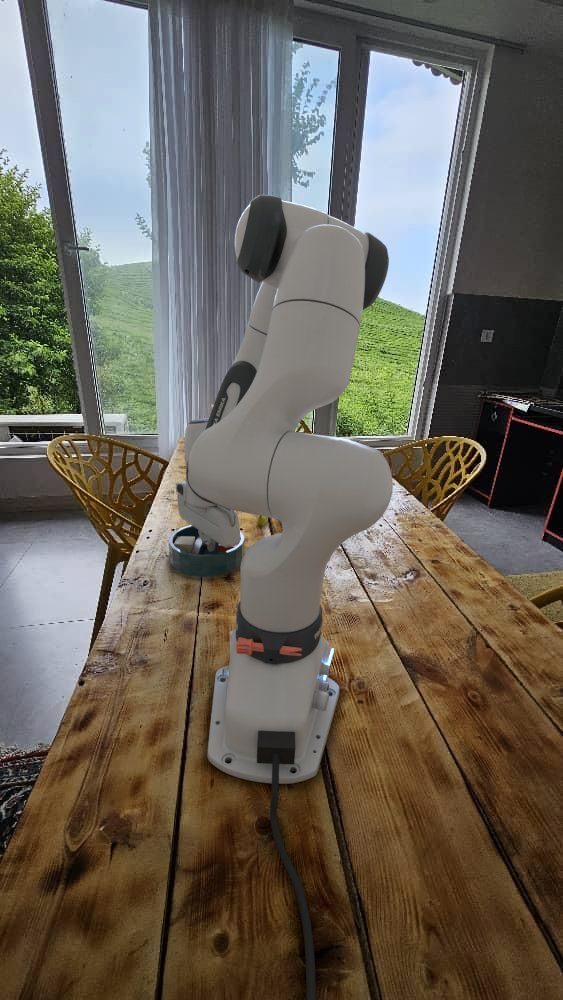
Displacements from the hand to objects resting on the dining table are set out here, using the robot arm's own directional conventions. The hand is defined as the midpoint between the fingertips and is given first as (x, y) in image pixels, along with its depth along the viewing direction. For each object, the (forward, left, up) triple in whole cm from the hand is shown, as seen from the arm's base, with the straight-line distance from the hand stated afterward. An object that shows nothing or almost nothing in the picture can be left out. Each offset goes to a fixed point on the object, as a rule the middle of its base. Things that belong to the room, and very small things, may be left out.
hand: (208, 549), depth 101 cm
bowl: (0, 0, -3) cm, 3 cm away
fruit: (+22, -9, -3) cm, 24 cm away
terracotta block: (+1, -5, -2) cm, 5 cm away
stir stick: (-1, +2, -2) cm, 3 cm away
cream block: (0, +5, -2) cm, 6 cm away
